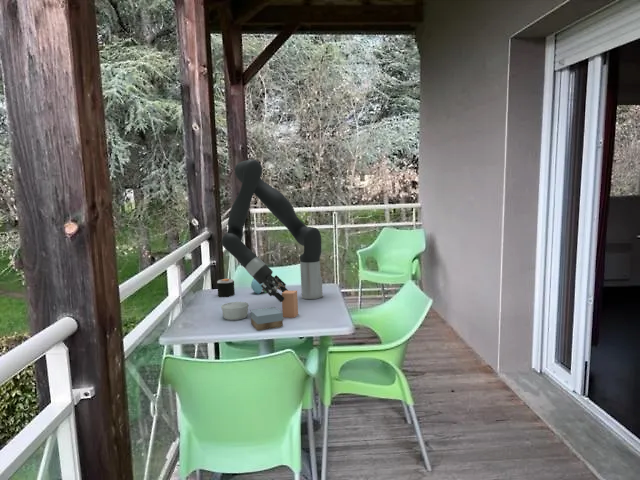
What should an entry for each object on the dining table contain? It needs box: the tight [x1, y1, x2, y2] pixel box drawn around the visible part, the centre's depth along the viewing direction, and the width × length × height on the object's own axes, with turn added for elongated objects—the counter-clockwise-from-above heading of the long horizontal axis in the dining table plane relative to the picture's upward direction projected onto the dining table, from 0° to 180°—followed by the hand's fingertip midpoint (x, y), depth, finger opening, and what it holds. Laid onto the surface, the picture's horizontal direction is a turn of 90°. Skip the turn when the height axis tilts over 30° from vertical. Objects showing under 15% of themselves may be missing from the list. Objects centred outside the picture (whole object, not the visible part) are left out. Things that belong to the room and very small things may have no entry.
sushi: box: [216, 278, 236, 298], centre depth 246 cm, size 8×8×8 cm
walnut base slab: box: [250, 317, 284, 331], centre depth 193 cm, size 10×10×3 cm
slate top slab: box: [250, 306, 284, 324], centre depth 193 cm, size 10×10×3 cm
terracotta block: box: [281, 289, 299, 319], centre depth 205 cm, size 5×5×10 cm
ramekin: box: [221, 301, 249, 321], centre depth 206 cm, size 11×11×5 cm
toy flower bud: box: [250, 278, 268, 295], centre depth 249 cm, size 7×9×12 cm
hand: (286, 298), depth 205 cm, fingers open, 8 cm apart
